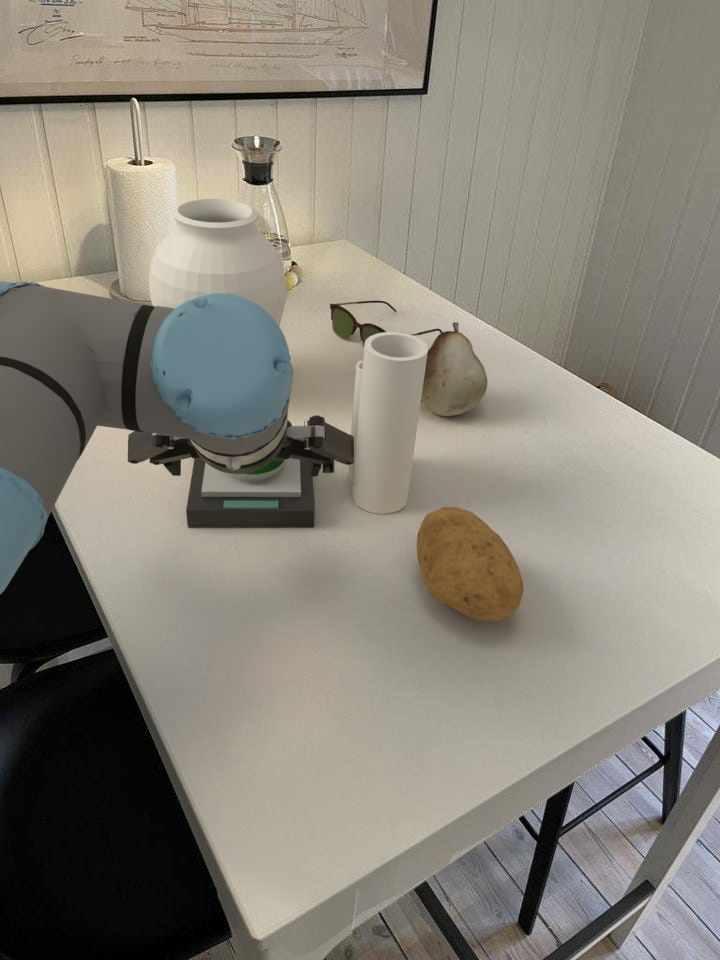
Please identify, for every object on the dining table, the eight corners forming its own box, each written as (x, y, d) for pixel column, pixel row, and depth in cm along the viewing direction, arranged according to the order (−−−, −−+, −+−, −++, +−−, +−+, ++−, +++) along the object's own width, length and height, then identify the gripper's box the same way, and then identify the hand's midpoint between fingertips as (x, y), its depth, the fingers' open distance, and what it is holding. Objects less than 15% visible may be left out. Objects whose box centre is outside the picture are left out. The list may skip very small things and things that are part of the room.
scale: (187, 527, 83) (185, 504, 81) (198, 454, 94) (197, 432, 92) (314, 527, 85) (315, 504, 83) (310, 455, 96) (311, 434, 94)
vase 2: (410, 515, 88) (432, 362, 76) (348, 512, 87) (360, 358, 75) (403, 458, 97) (421, 314, 85) (347, 456, 96) (358, 310, 84)
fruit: (459, 386, 113) (472, 311, 106) (496, 417, 106) (512, 340, 99) (400, 399, 109) (409, 322, 101) (435, 432, 102) (447, 353, 95)
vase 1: (157, 360, 113) (139, 189, 98) (274, 354, 117) (274, 188, 102) (162, 424, 99) (143, 236, 84) (295, 414, 103) (299, 233, 88)
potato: (453, 660, 71) (466, 601, 66) (392, 562, 81) (399, 504, 76) (540, 634, 74) (559, 576, 69) (470, 543, 84) (482, 487, 80)
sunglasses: (326, 329, 125) (329, 301, 122) (389, 315, 134) (393, 288, 131) (386, 364, 117) (390, 334, 114) (448, 346, 126) (454, 317, 123)
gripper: (56, 466, 53) (117, 499, 74) (405, 468, 56) (369, 500, 77) (60, 363, 54) (119, 424, 75) (403, 370, 57) (368, 428, 78)
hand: (246, 462), depth 76 cm, fingers open, 13 cm apart
